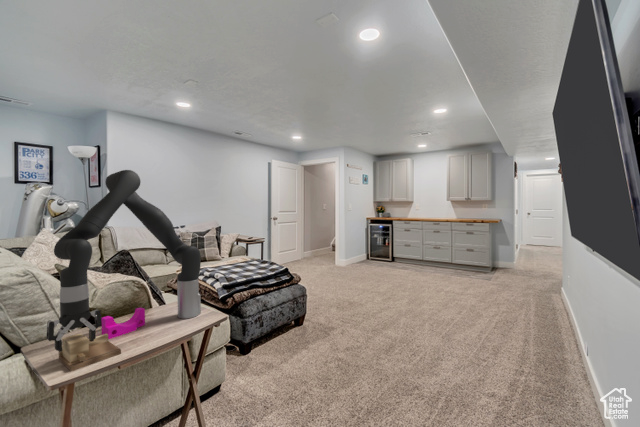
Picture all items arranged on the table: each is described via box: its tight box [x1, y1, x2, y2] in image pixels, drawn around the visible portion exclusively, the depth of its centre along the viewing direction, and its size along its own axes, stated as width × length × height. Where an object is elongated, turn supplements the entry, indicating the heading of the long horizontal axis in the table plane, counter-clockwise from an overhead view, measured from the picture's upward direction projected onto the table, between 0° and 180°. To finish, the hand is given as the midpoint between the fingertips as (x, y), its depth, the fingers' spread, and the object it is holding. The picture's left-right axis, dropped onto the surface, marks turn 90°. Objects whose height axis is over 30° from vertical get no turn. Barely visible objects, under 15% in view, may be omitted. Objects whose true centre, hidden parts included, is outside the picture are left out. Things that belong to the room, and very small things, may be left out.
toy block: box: [101, 307, 146, 340], centre depth 124 cm, size 15×6×8 cm, turn 147°
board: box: [58, 333, 122, 372], centre depth 103 cm, size 14×13×4 cm
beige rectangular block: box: [61, 332, 89, 363], centre depth 99 cm, size 5×11×6 cm, turn 54°
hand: (76, 345), depth 100 cm, fingers open, 8 cm apart
